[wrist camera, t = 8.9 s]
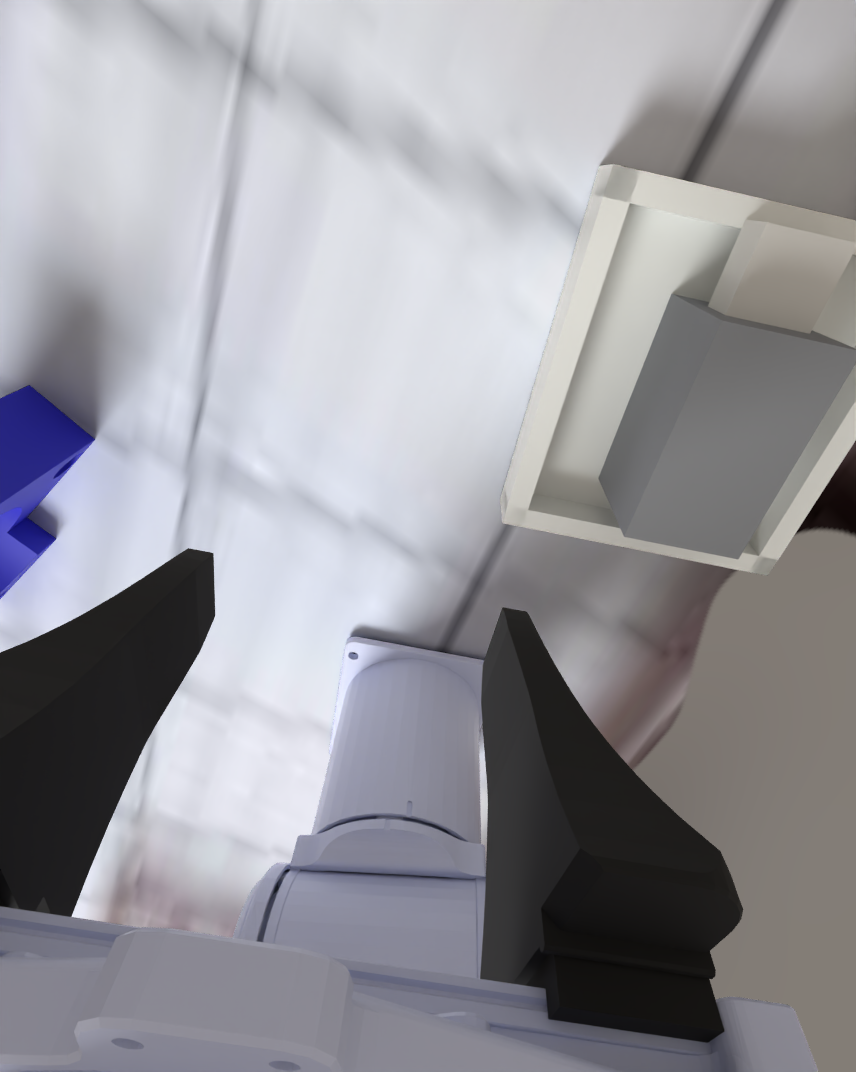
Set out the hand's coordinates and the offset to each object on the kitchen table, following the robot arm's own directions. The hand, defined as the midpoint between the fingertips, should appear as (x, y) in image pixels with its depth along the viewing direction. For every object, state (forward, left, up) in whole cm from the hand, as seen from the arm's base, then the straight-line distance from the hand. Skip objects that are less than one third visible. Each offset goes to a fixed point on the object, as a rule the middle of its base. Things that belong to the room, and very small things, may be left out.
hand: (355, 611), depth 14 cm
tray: (+5, -10, -10) cm, 15 cm away
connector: (+5, -10, -10) cm, 15 cm away
